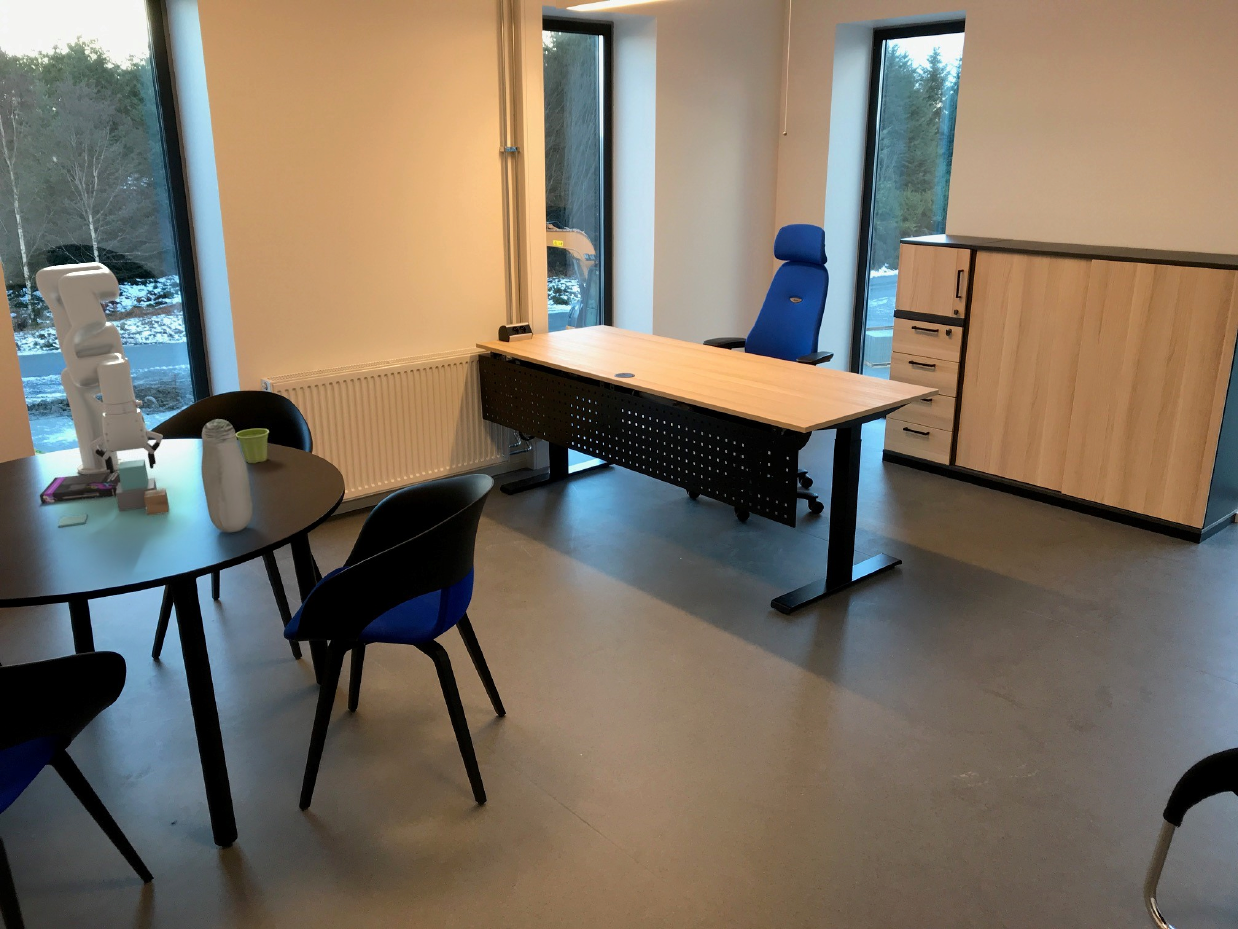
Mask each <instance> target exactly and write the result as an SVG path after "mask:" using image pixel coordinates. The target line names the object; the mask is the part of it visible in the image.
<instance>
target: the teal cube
mask: <svg viewBox="0 0 1238 929" xmlns="http://www.w3.org/2000/svg"><path fill="white" fill-rule="evenodd" d="M117 472H119V476H120V481H121V486H122V491H123V490H130V489H137V488H145V487H148V481H149V480H148V479H149V475H148V471H147V463H146V460H145V458H143V459H136V460H128V461H124V462H120V464H119V468H118V470H117Z"/></svg>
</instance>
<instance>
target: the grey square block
mask: <svg viewBox="0 0 1238 929" xmlns="http://www.w3.org/2000/svg"><path fill="white" fill-rule="evenodd" d="M148 480H149V481H148V487H145V488H137V489H130V490H123V491H122V486H121V483H118V486H117V490H116V496H115V497H116V500H117V506H118V510H119V512H123V511H130V510H137V509H146V505H145V500H144V494H145V491H151V490H158V487H157V482H156V478H155V477H153V478H152V477H151V478H148Z"/></svg>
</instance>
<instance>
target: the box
mask: <svg viewBox="0 0 1238 929" xmlns="http://www.w3.org/2000/svg"><path fill="white" fill-rule="evenodd" d="M118 483H121V481H120V476H119V471H115V472H113V473H112V474H110V472H108V473H102V474H90V475H86V474H81V475H68V476H59V477H58V476H57V477H54V478H53V479H52V481H51V482H50V483H49V484H48V485H47V486H46V487H45V489H44V490H43V491H42V492H41V493H40V494H39V500H40V502H41V504H50V503H59V502H71V501H80V500H91V499H100V498H101V499H102V498H111V497H116V490H117V486H118Z"/></svg>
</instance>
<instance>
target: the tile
mask: <svg viewBox="0 0 1238 929" xmlns="http://www.w3.org/2000/svg"><path fill="white" fill-rule="evenodd" d="M87 519H88V514H87V513H86V514H85V513H84V514H78V515H77V514H76V515H71V516H65V517H64V516H63V517H60V519H59V522H58V525H57V526H58V528H64V527H65V528H66V527H71V526H79V525H84V524H87V523H86V521H87Z"/></svg>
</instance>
